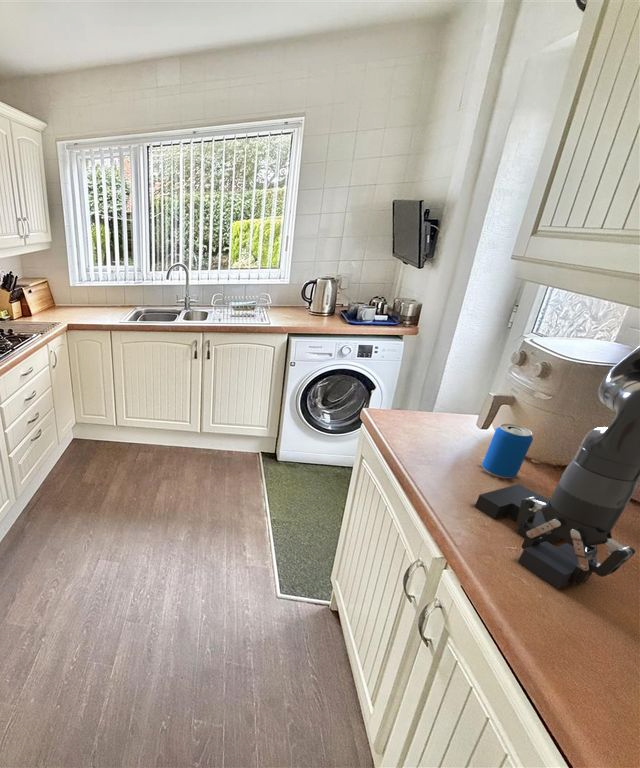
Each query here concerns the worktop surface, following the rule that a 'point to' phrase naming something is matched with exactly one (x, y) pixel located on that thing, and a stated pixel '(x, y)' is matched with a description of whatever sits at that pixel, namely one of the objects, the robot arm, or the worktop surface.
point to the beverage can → (507, 450)
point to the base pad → (513, 507)
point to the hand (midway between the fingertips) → (550, 566)
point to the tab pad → (550, 562)
